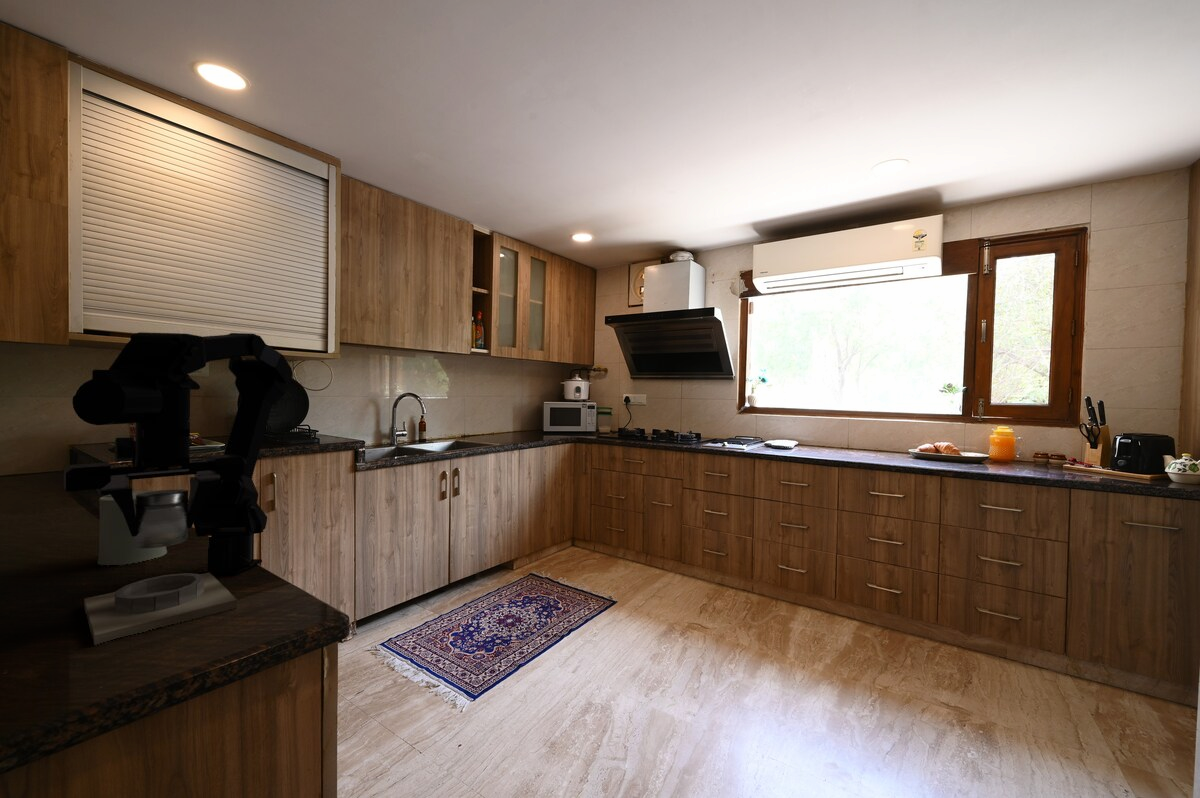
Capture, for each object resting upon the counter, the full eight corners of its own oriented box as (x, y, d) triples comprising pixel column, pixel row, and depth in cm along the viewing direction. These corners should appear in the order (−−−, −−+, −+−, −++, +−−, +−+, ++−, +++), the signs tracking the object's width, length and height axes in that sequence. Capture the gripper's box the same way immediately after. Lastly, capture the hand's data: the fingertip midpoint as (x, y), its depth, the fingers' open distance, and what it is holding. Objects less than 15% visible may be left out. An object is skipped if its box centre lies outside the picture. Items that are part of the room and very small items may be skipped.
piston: (160, 536, 71) (160, 489, 71) (198, 537, 71) (198, 489, 71) (122, 548, 66) (123, 496, 66) (163, 548, 66) (164, 497, 66)
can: (118, 552, 92) (119, 489, 92) (177, 548, 95) (178, 487, 95) (83, 568, 83) (84, 498, 84) (149, 563, 86) (150, 496, 86)
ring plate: (84, 607, 68) (84, 584, 68) (209, 579, 79) (209, 560, 79) (94, 645, 58) (94, 618, 58) (236, 608, 69) (237, 585, 69)
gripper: (229, 417, 81) (228, 511, 81) (62, 420, 67) (61, 534, 67) (249, 420, 74) (247, 523, 74) (66, 424, 59) (65, 551, 59)
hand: (162, 531), depth 69 cm, fingers closed on piston, 5 cm apart
